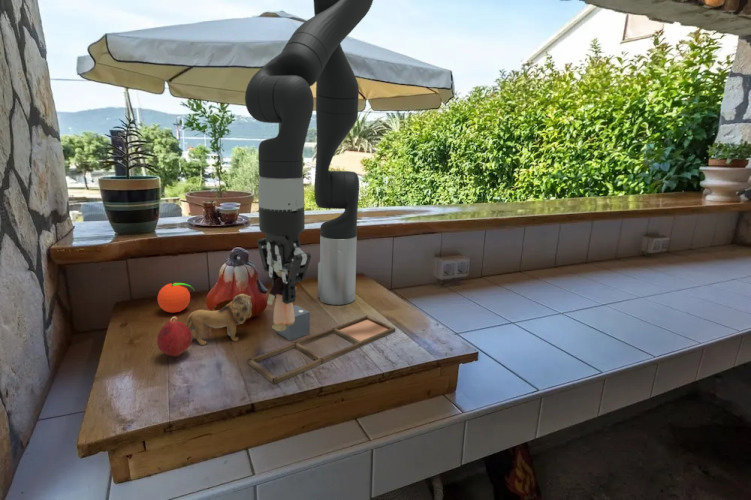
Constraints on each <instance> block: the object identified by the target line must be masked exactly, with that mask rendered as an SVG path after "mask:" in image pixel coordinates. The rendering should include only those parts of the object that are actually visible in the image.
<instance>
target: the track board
mask: <svg viewBox="0 0 751 500" xmlns="http://www.w3.org/2000/svg"><path fill="white" fill-rule="evenodd" d="M395 332H396V328H395V327H393V326H391V325H389V324H387V323H385V322H383V321H381V320H379V319H378V320H377V319H376V318H373V317H371V316H369V315H365V316H362V317H359V318H357V319H354V320H352V321H348V322H346V323H343V324H341V325H340V324H339V325H338V326H335V327H332V328H329V329H327V330H324V331H322V332H318V333H315V334H313V335H310V336H308V337H305V338H303V339H302V338H301V339H300V340H297V341H295V342H292V343H289V344H286V345H284V346H281V347H278V348H274V349H273V350H270V351H268V352H265V353H262V354H259V355H256V356H254V357H251V358H248V359H247V363H248V365H249V366H250V367H252V368H253V369H254V370H256V371H257V372H258V373H259V374H261V376H263V377H264V378H266V379H267V380H268V381H269V382H271V383H272V384H273V385H276V384H278V383H280V382H283V381H286V380H288V379H290V378H292V377H295V376H297V375H299V374H301V373H303V372H306V371H308V370H310V369H312V368H316V367H317V366H319V365H322V364H324V363H326V362H329V361H332V360H333V359H334V360H335V359H336V358H338V357H341V356H342V355H345V354H347V353H349V352H352V351H353V350H356V349H358V348H361V347H363V346H365V345H368V344H370V343H373V342H375V341H376V340H379V339H381V338H385V337H386V336H388V335H390V334H392V333H395ZM331 334H334V335H335V334H336V335H337V336H340V338H343V339H345V340H347V341H348V342H351V343H352V344H351V345H349V346H346V347H344V348H342V349H339V350H337V351H334V352H332V353H329V354H328V355H325V356H322V357H321V356H319V355H318V354H316V353H314V352H313V351H312V350H310V349H308V348H307V347H305V346H303V345H305V344H308V343H310V342H311V343H312V342H313V341H316V340H318V339H321V338H324V337H326V336H327V337H328V335H331ZM295 348H296V349H297V350H299V351H300V352H302V353H304V354H305V355H306V356H308V357H309V358H311V359H312V360H313V361H310V362H309V363H305V364H304V365H302V366H299V367H297V368H294V369H292V370H290V371H287V372H285V373H282V374H280V375H278V376H274V375H273V374H272V373H270V372H269V371H268V370H266V369H265V368H264V367H263V366H262V365H260V364H259V362H260V361H264V360H265V359H269V358H271V357H273V356H276V355H280V354H282V353H284V352H286V351H289V350H292V349H295Z"/></svg>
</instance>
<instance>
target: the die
mask: <svg viewBox="0 0 751 500" xmlns="http://www.w3.org/2000/svg"><path fill="white" fill-rule="evenodd" d="M293 309H294V316H295V321H294V324H292V325H290V326H286V325H285V326H286V329H285V330H283V331H276V333H278V335H280V336H282V337H283V338H285V339H287V340H288V341H293V340H295V339H299V338H301V337H303V336H307V335H309V334H310V333H311V332H310V331H311V330H310V328H311V327H310V318H311V317H310V314H311V313H310V311H308V310H307V309H305V308H303V307H301V306H299V305H297V304H295V305H294V304H293Z"/></svg>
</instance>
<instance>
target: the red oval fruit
mask: <svg viewBox="0 0 751 500" xmlns="http://www.w3.org/2000/svg"><path fill="white" fill-rule="evenodd" d="M178 319H179V318H178V317H177V316H176V315H175V316H172V317H171V318H170V319H169V321H168V322H167V323H165V324H164V325H163V326H162V327H161V328H160V330H159V331H158V334H157V336H156V341H157V343H156V344H157V346H158V347H157V348H158V349H159V350H160V352H161V353H164V354H166V355H167V356H170V357H175V358H179V357H180V356H181V355H182V354H183V353H184V352H186V351H187V350H188V349H189V348H190V347H191V344H192V341H193V339H192V336H193V334H192V332H191V331H190V329H189V326H188V327H187V326H186V325H185V324H186V323H184V322H181V321H179V320H178Z"/></svg>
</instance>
